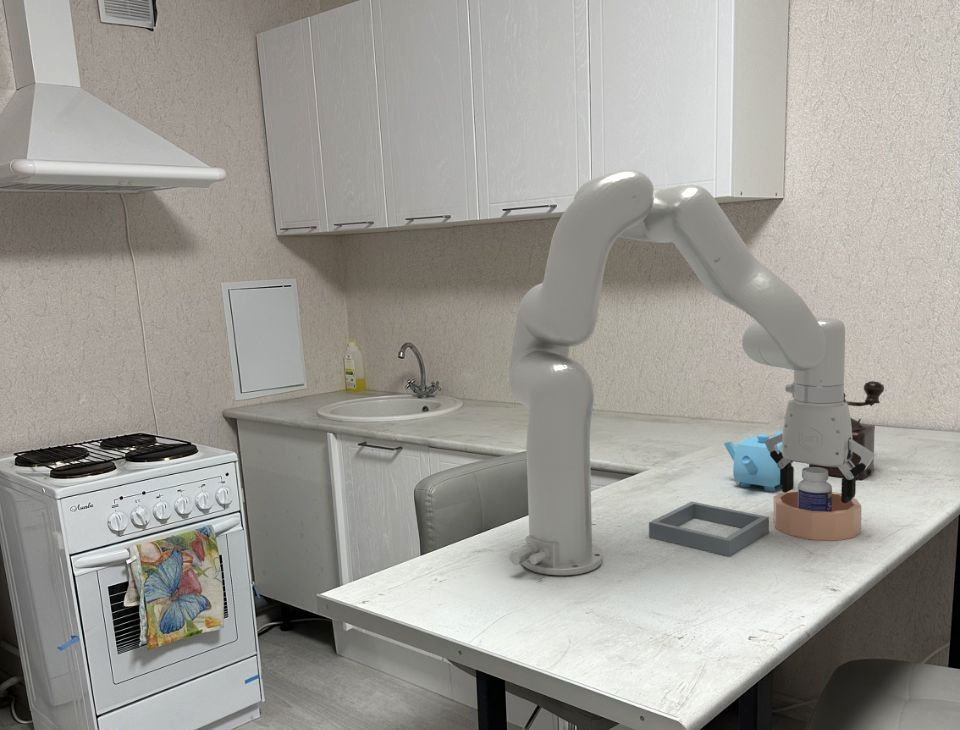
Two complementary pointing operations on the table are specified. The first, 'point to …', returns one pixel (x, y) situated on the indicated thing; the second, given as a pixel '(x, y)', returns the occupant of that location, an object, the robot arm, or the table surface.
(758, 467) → the teapot
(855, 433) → the coffee grinder
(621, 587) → the table surface
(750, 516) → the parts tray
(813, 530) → the bowl
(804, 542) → the table surface
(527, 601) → the table surface
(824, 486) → the pill bottle
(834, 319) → the robot arm
